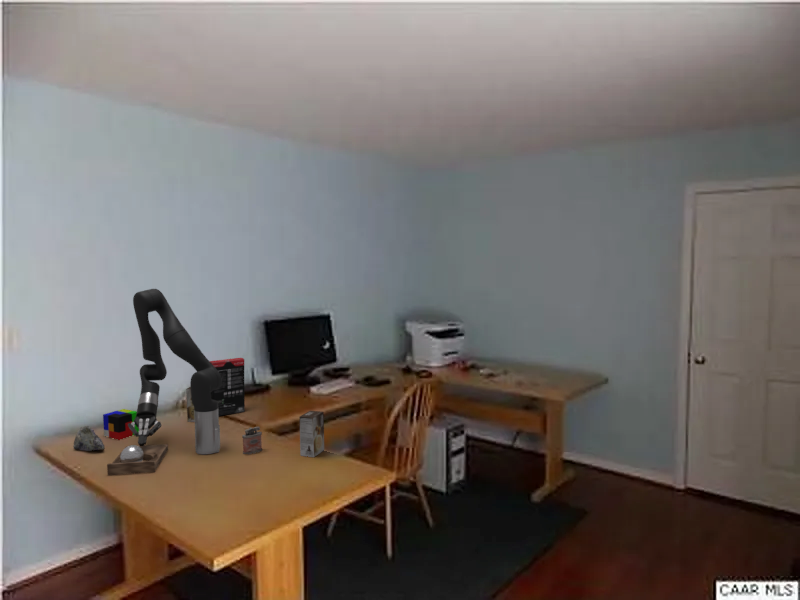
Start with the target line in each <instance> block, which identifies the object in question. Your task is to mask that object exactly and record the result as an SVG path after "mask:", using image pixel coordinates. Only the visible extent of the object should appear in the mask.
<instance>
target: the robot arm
mask: <svg viewBox="0 0 800 600" xmlns="http://www.w3.org/2000/svg"><path fill="white" fill-rule="evenodd" d="M132 303H133V309H134V310H133V311H134V314H135V317H136V318H135V319H136V321H137V325H138V329H139V333H140V339H141V346H142V347H141V349H142V358H143V360H145V361H147V362H153V363H152V364H151V363H150V364H149V363H147V364H143V365H141V366H140V368H139V377H140V381H141V388H140V389H141V390H140V395H139V398H138V404H137V410H136V411H137V414H136V418H135V419H134V422H132V423H128V427H129V429H130V430H131V431H132V432H133V434H134V436H135V438H137V437H138V439H137V444H138V446H144V445H147V441H148V440H147V439H148V437H152V436H153V435H155V433H156V432H157V431H158V430H160V428H162V422H161V421H158V419H157V413H158V407H159V397H160V385H159V383H157V382H155V381H163V380H165V378H166V377H167V375H168V374H167V373H168V371H167V366H166V365H165V363H164V360H163V357H162V351H161V341H160V337H159V335H158V333H157V332H156V331H155V329H154V328H153V327H152V325H151V323H150V320H149V313H151V312H152V313H153V312H155V313H157V314H158V316H159V317H160V319H161V321H162V336H163V341H164V342H165V343H166V345H167V346H168V348H169V349H170V350H171V352H172V353H173V354H174V355H175V356H177V357H178V358H180V359H181V360H183V361H184V362H186V363H188V364H189V365H190V366H191V367H192V368H193V369H194V370H195V372H194V373H193V374H192V375H191V378H190V386H189V387H191V398H192V403H193V405H194V418H195V422H194V440H195V442H194V443H195V453H197V454H198V455H210V454H214V453H219V452H220V449H221V428H220V426H221V425H220V423H219V422H220V420H219V418H220V416H218V402H217V401H216V400H212V399H211V394H210V392H211V391H214V390H216V389H218V388H219V387H220V386H221V384H222V378H221V375H220V373H219V372H218V370H217V369H216V368H215V367H214V366H213V365H212V364H211V362H210V361H211V360H209V359H208V358H207V357H206V356H205V354H204V353H203V352H202V351H201V349H200V348H199V345H197V344H196V342H195V341H194V339H193V338H192V337H191V335H190V334H189V332H188V331H187V330H186V328H185V327H184V326H183V324H182V323H181V321H180V320H179V319H178V317H177V315H176V314H175V312H174V311H173V309H172V307H171V305H170V304H169V302H168V300H167V298H166V297H165V296H164V294H163V293H162V291H161V290H160V289H157V288H149V289H146V290H140V291H137V292H136V293H134V295H133V298H132ZM135 424H136V426H137V427H138V428H139V432H137V431H136V430H135Z"/></svg>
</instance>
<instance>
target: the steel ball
mask: <svg viewBox="0 0 800 600" xmlns="http://www.w3.org/2000/svg"><path fill="white" fill-rule="evenodd" d="M127 446H128V447H127ZM127 446H125V447H126V448H125V447H124V448H125V449H124V448H123V449H124V450H123V449H122V450H121V452H120V453H121V455H120V459H121V462H122V463H126V462H141V461H144V460H143V457H144V453H143V450H142V449H141V448H140V447H139V446H140V445H136V444H131V445H127Z"/></svg>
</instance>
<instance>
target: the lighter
mask: <svg viewBox="0 0 800 600" xmlns="http://www.w3.org/2000/svg"><path fill="white" fill-rule="evenodd" d="M260 430H261V427H260V426H255V427H248V428H247V429H245V430H244V432H245V434H242V435H241V436H242V449H243V450H242V455H243V454H248V455H253V454H257V453H260V451H261V452H262V451H263V447H262V443H263V442H262V435H263V434H262V433H263V432H262V431H260ZM256 452H257V453H256ZM252 453H253V454H252Z"/></svg>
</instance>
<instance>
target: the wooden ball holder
mask: <svg viewBox="0 0 800 600" xmlns="http://www.w3.org/2000/svg"><path fill="white" fill-rule="evenodd" d="M128 446H129V445H127V446H125V447H124V448H123V449H122V451H123V450H124V449H125V448H126V447H128ZM138 446H139V447H140V448H141V449H142V450H143V453H144V457H143V460H142V461H141V462H126V463H122V462H121V459H120V455H121V452H119V454H118V455H117V457H116V458H115V459H114V460H113V461H112V463H107V465H106V469H107V470H106V471H107V476H117V475H119V476H120V475H121V476H122V475H132V474H133V475H134V473H135V474H147V473H146V472H150V473H155V472H156V471H155V470H157V468H159V465H160V464H161V463H162V460H164V458H165V456H166V454H167V452H168V451H169V444H168V443H164V444H163V443H162V444H148V445H147V444H145V445H144V446H140V445H138Z"/></svg>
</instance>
